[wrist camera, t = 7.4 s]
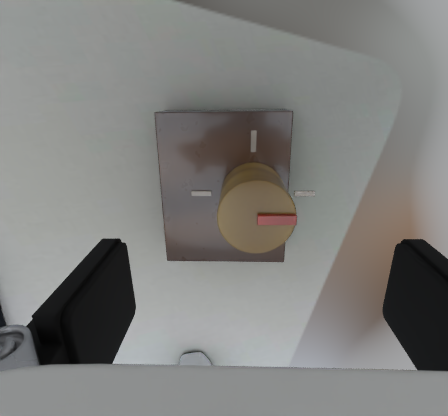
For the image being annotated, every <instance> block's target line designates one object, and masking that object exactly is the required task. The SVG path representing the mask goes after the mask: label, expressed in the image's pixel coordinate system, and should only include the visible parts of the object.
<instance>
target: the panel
mask: <svg viewBox="0 0 448 416" xmlns="http://www.w3.org/2000/svg"><path fill="white" fill-rule="evenodd" d="M292 122H293V111H291V110H287V109H266V110H175V111H160V112H155V124H156V136H157V148H158V160H159V171H160V183H161V195H162V206H163V218H164V230H165V242H166V253H167V261H243V262H284V251H285V242H284V243H283V244H282V245H280V246H279V247H277V248H276V249H274V250H271V251H268V252H265V253H247V252H243V251H241V250H238V249H236V248H235V247H233V246H232V245H230V244H229V243H228V242H227V241H226V240H225V239H224V237H223V236H222V234H221V233H220V230H219V228H218V224H217V211H218V205H219V200H220V194H221V189H222V185H223V182H224V180H225V178H226V176H227V175H228V174H229V173H230V172H231V171H232V170H233V169H234V168H236V167H238V166H240V165H242V164H245V163H261V164H265V165H267V166H269V167H271V168H272V169H273V170H274V171H276V172H277V174H278V175H279V176H280V178H281V180H282V182H283V183H284V185H285V187H286V189H287V191H288V187H289V171H290V155H291V139H292ZM294 196H315V191H294Z"/></svg>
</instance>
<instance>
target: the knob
mask: <svg viewBox="0 0 448 416" xmlns="http://www.w3.org/2000/svg"><path fill="white" fill-rule="evenodd" d="M296 221H297V215H296V208H295V205H294V202H293V200H292V198H291V196H290V195H289V193H288V191H287V189H286V187H285V185H284V183H283V182H282V180H281V178H280V176H279V175H278V174H277V172H276V171H274V170H273V169H272V168H271V167H269V166H267V165H265V164H261V163H245V164H242V165H240V166H238V167H236V168H234V169H233V170H232V171H231V172H230V173H229V174H228V175H227V176H226V178H225V180H224V182H223V185H222V189H221V194H220V200H219V205H218V211H217V224H218V228H219V230H220V233H221V234H222V236H223V237H224V239H225V240H226V241H227V242H228V243H229V244H230V245H232V246H233V247H235V248H236V249H238V250H241V251H243V252H247V253H265V252H268V251H271V250H274V249H276V248H277V247H279V246H280V245H282V244H283V243H284V242H285V241H286V240H287V239H288V238H289V237H290V235H291V233H292V232H293V229H294V227H295V225H296Z"/></svg>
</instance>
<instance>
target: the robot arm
mask: <svg viewBox="0 0 448 416" xmlns="http://www.w3.org/2000/svg"><path fill="white" fill-rule="evenodd" d="M135 310H136V304H135V297H134V291H133V284H132V277H131V271H130V264H129V257H128V251H127V245H126V243H122V242H121V240H120V239H102V240H101V241H100V242H99V243H98V244H97V245H96V246H95V247H94V248H93V249H92V251H91V252H90V253H89V254H88V255H87V256H86V257H85V258H84V259H83V260H82V262H81V263H80V264H79V265H78V266H77V267H76V268H75V269H74V270H73V271H72V272H71V274H70V275H69V276H68V277H67V278H66V279H65V280H64V281H63V282H62V283H61V285H60V286H59V287H58V288H57V289H56V290H55V291H54V292H53V293H52V294H51V295H50V297H49V298H48V299H47V300H46V301H45V302H44V303H43V304H42V305H41V306H40V308H39V309H38V310H37V311H36V312H35V313H34V314H33V315H32V318H33V319H32V321H31V322H30V323H29V324H28V325H27V326H26V327H25V326H23V325H10V326H4V327H1V328H0V416H448V259H447V258H446V257H445V256H443V255H442V254H441V253H440V252H438V251H437V250H436V249H435V248H433V247H432V246H431V245H430V244H428V243H427V242H426V241H425V240H423V239H404V240H403V241H401V243H400V244H397V245H396V247H395V251H394V256H393V260H392V265H391V270H390V275H389V280H388V284H387V290H386V294H385V299H384V304H383V316H384V318H385V320H386V322H387V323H388V325H389V326H390V328H391V329H392V331H393V332H394V334H395V335H396V337H397V339H398V340H399V342H400V344H401V345H402V347H403V348H404V350H405V351H406V353H407V354H408V356H409V358H410V359H411V361H412V362H413V364H414V365H415V367H416V368H417V370H386V369H385V370H384V369H341V368H297V367H294V368H293V367H248V366H202V365H144V364H112V363H113V361H114V358H115V356H116V354H117V352H118V350H119V348H120V345H121V343H122V341H123V339H124V337H125V335H126V332H127V330H128V328H129V326H130V324H131V321H132V319H133V317H134V315H135Z"/></svg>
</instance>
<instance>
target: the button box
mask: <svg viewBox="0 0 448 416" xmlns="http://www.w3.org/2000/svg"><path fill="white" fill-rule="evenodd" d="M4 326H6V324H5V321H4V318H3V314H2V311H1V308H0V328H1V327H4Z"/></svg>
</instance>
